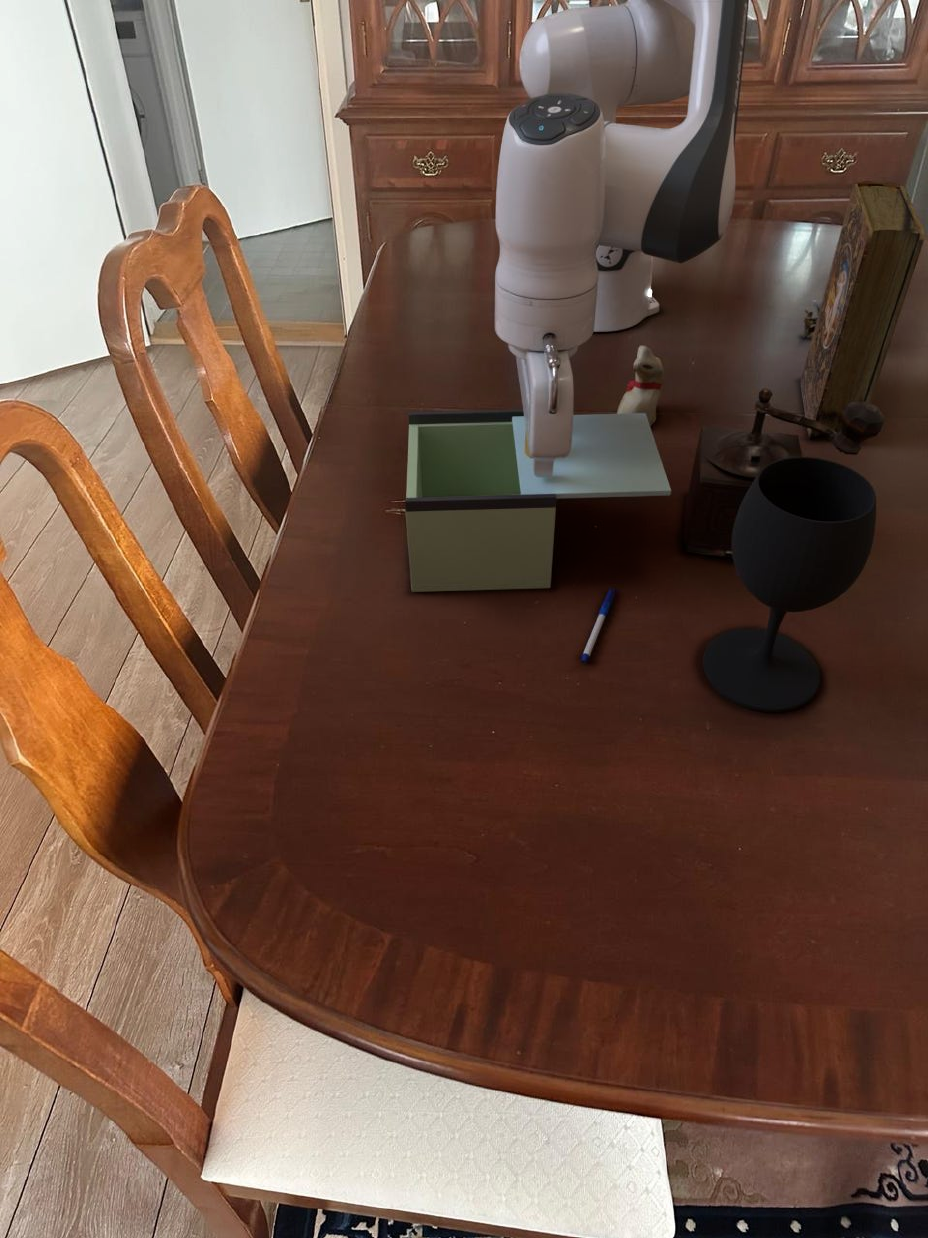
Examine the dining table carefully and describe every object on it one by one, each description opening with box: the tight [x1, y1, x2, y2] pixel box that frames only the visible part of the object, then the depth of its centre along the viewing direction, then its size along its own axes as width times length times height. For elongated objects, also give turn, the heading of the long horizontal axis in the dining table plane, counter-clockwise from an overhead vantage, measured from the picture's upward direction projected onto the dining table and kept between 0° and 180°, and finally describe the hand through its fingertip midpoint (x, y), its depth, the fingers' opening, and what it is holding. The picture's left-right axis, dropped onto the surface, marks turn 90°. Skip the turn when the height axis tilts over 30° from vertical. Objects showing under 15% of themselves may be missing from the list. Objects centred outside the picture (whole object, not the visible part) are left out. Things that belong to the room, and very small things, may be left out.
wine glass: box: [702, 456, 877, 713], centre depth 74 cm, size 10×10×20 cm
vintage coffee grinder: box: [682, 388, 885, 560], centre depth 90 cm, size 16×11×18 cm
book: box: [800, 180, 926, 439], centre depth 105 cm, size 16×6×25 cm, turn 168°
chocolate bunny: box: [616, 345, 666, 427], centre depth 110 cm, size 6×8×10 cm
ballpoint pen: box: [581, 587, 616, 664], centre depth 85 cm, size 10×1×1 cm, turn 160°
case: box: [404, 408, 557, 593], centre depth 92 cm, size 16×14×11 cm
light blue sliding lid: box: [512, 413, 672, 500], centre depth 87 cm, size 14×14×4 cm
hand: (538, 446), depth 88 cm, fingers open, 8 cm apart
